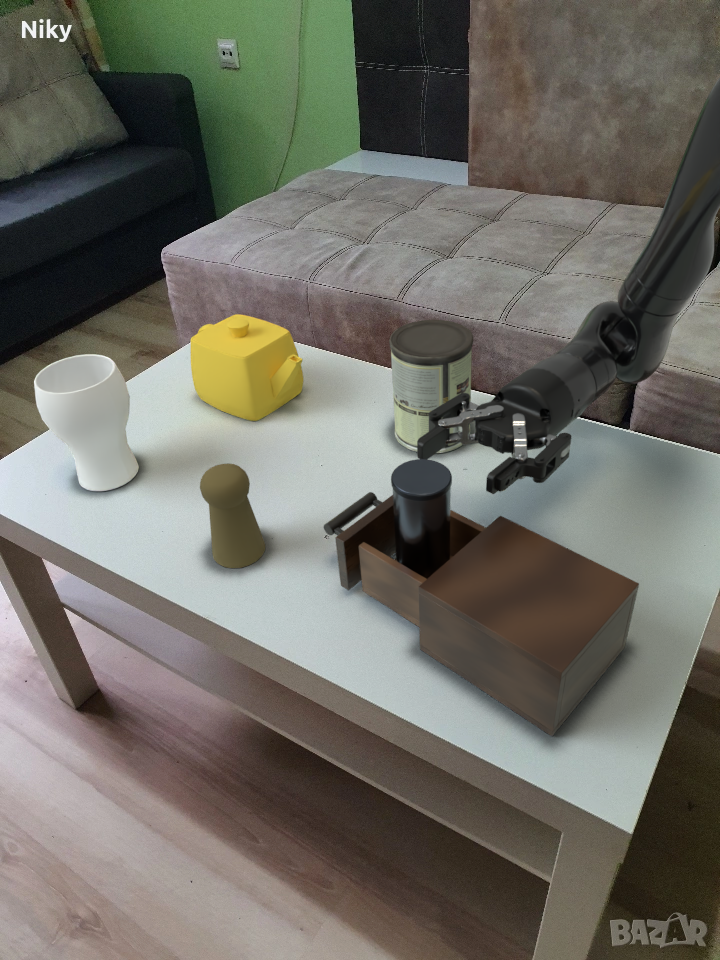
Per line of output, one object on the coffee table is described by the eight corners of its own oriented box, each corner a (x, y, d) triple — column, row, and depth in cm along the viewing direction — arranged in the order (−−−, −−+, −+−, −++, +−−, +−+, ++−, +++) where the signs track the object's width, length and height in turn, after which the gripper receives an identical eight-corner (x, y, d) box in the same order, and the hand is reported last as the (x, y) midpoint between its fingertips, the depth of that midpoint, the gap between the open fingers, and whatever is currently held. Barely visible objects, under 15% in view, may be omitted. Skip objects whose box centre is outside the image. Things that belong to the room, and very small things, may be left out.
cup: (122, 441, 105) (91, 343, 96) (165, 470, 99) (137, 369, 89) (52, 477, 99) (12, 377, 90) (93, 510, 93) (55, 406, 84)
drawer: (312, 567, 81) (305, 519, 77) (383, 514, 87) (380, 467, 83) (442, 651, 71) (442, 601, 67) (512, 584, 77) (516, 535, 73)
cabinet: (419, 649, 72) (417, 586, 67) (496, 577, 79) (500, 515, 74) (552, 737, 64) (561, 672, 59) (624, 648, 71) (639, 583, 66)
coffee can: (403, 408, 107) (399, 316, 98) (476, 415, 104) (479, 321, 96) (385, 450, 99) (380, 354, 90) (463, 458, 96) (465, 360, 88)
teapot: (333, 396, 110) (325, 322, 103) (274, 436, 103) (262, 360, 96) (238, 361, 121) (225, 292, 114) (179, 395, 114) (161, 323, 106)
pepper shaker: (201, 552, 85) (181, 475, 79) (242, 524, 89) (226, 448, 82) (235, 576, 82) (217, 497, 75) (276, 546, 85) (262, 469, 79)
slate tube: (457, 565, 78) (459, 464, 70) (440, 602, 74) (440, 500, 66) (407, 552, 80) (403, 453, 72) (387, 588, 76) (381, 487, 68)
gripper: (493, 349, 84) (397, 411, 75) (609, 389, 76) (517, 464, 67) (490, 406, 89) (399, 471, 80) (600, 450, 80) (512, 528, 72)
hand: (453, 468), depth 73 cm, fingers open, 8 cm apart
